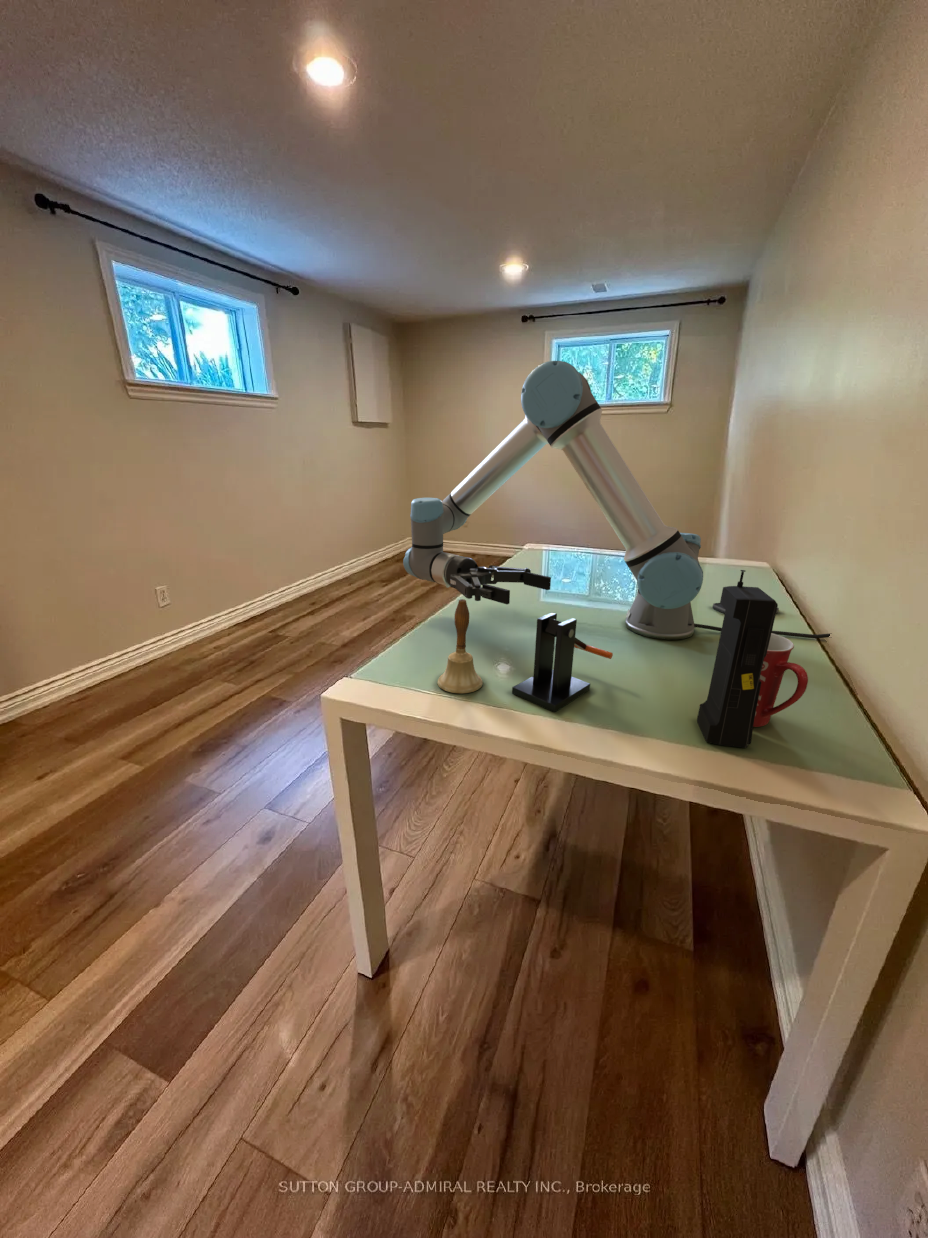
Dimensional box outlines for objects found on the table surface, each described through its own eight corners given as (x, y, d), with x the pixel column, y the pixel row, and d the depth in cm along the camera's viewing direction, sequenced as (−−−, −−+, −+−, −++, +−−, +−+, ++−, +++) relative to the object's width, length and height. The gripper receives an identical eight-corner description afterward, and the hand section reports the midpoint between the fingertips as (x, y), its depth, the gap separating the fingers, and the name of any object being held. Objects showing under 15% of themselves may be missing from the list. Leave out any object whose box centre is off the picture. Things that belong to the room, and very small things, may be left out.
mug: (699, 706, 83) (714, 631, 78) (741, 698, 85) (757, 625, 81) (763, 748, 71) (785, 664, 67) (809, 737, 74) (833, 656, 70)
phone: (711, 603, 132) (757, 599, 135) (710, 607, 132) (756, 603, 135) (732, 612, 124) (781, 608, 128) (732, 617, 125) (780, 612, 128)
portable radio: (753, 754, 70) (795, 586, 62) (708, 748, 71) (743, 583, 63) (736, 724, 77) (772, 570, 69) (695, 720, 78) (725, 568, 70)
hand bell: (472, 670, 95) (474, 591, 89) (489, 689, 87) (492, 604, 82) (431, 676, 92) (430, 595, 86) (445, 697, 85) (445, 610, 79)
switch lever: (558, 645, 96) (563, 634, 96) (610, 662, 89) (614, 650, 89) (523, 624, 85) (528, 612, 85) (578, 642, 78) (583, 628, 78)
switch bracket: (548, 673, 94) (553, 605, 89) (589, 690, 88) (597, 617, 83) (511, 693, 86) (515, 620, 81) (554, 712, 80) (561, 634, 76)
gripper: (491, 577, 122) (563, 595, 108) (415, 598, 106) (488, 623, 92) (492, 547, 120) (565, 561, 106) (413, 564, 103) (489, 584, 89)
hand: (530, 590), depth 99 cm, fingers open, 13 cm apart
